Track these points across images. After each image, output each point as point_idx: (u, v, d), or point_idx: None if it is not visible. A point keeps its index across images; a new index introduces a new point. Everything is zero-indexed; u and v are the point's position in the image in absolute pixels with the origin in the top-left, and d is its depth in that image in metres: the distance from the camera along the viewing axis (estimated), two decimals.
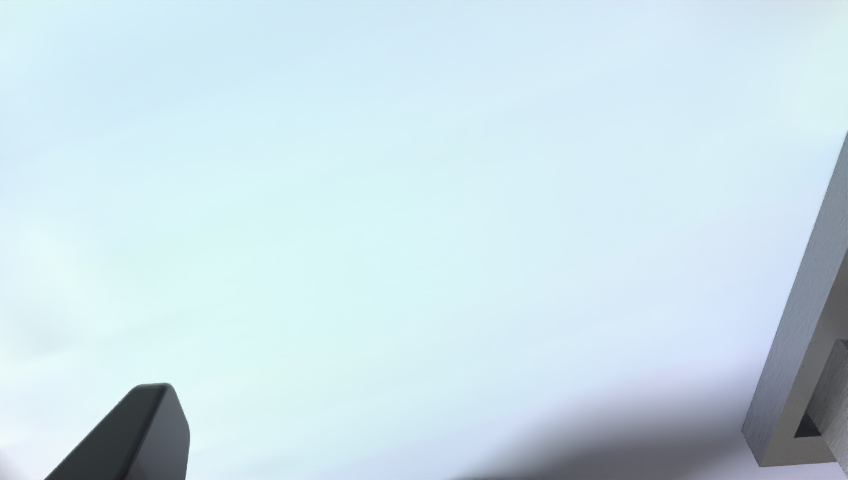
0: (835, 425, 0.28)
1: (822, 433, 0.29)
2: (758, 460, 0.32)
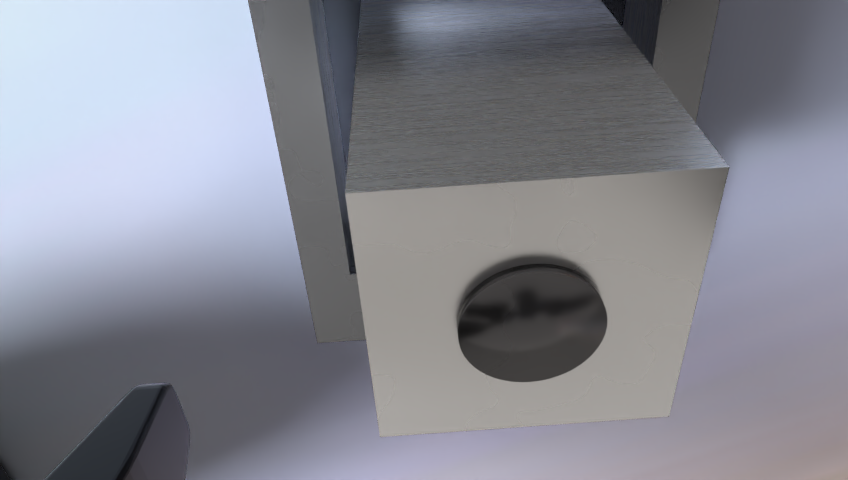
0: None
1: None
2: (317, 331, 0.17)
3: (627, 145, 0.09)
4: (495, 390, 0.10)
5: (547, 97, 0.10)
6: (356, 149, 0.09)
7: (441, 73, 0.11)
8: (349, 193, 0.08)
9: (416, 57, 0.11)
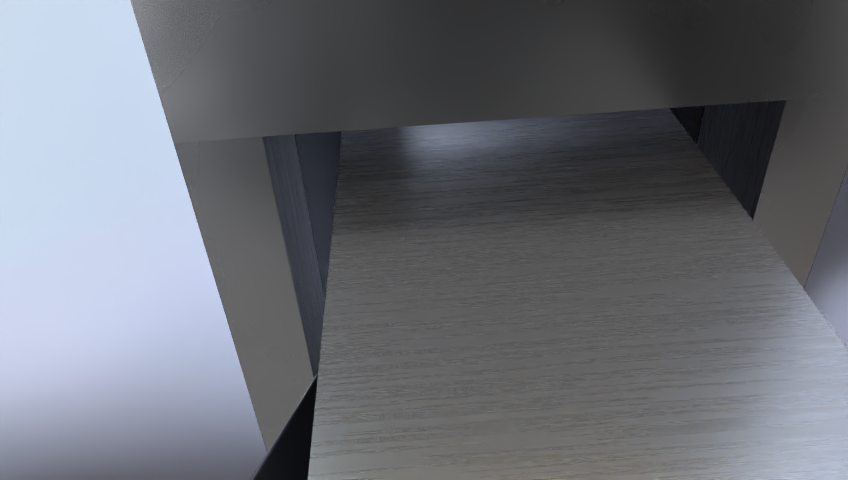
0: None
1: None
2: None
3: (794, 478, 0.05)
4: None
5: (632, 337, 0.06)
6: (322, 467, 0.05)
7: (461, 273, 0.07)
8: None
9: (422, 232, 0.08)
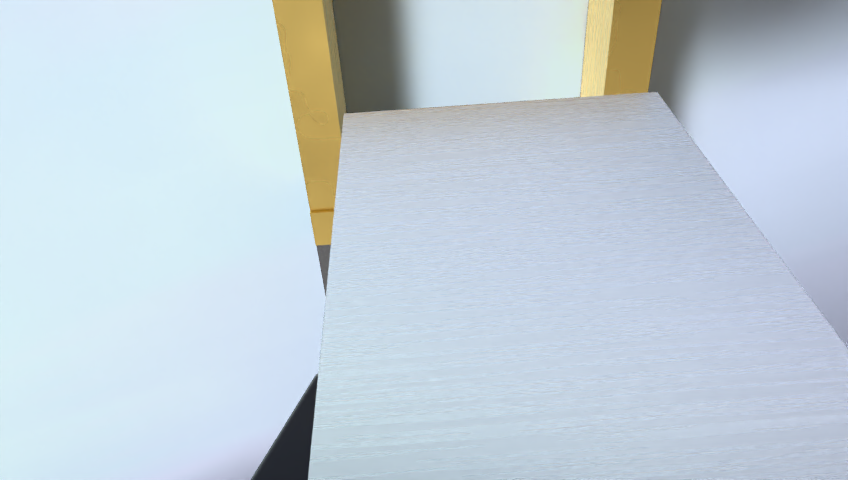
0: None
1: None
2: None
3: None
4: None
5: (633, 340, 0.06)
6: (321, 471, 0.05)
7: (462, 275, 0.07)
8: None
9: (421, 234, 0.08)
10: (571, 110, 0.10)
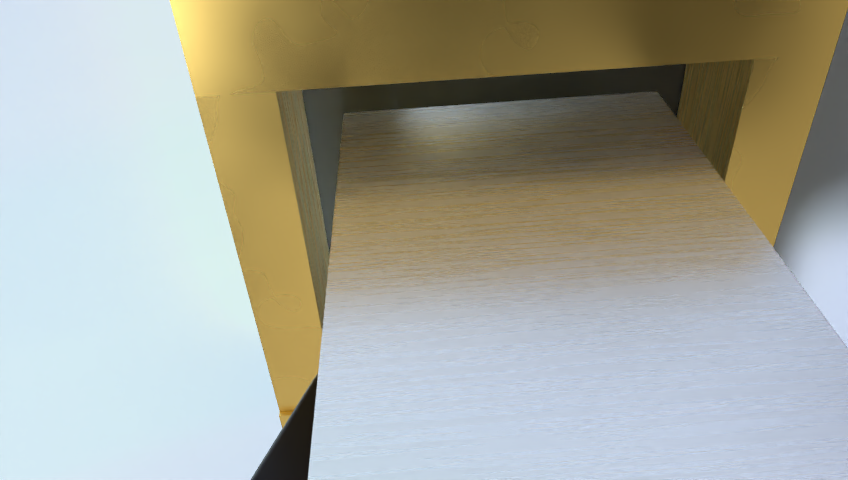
0: None
1: None
2: None
3: None
4: None
5: (633, 339, 0.06)
6: (321, 470, 0.05)
7: (461, 274, 0.07)
8: None
9: (422, 234, 0.08)
10: (571, 110, 0.10)
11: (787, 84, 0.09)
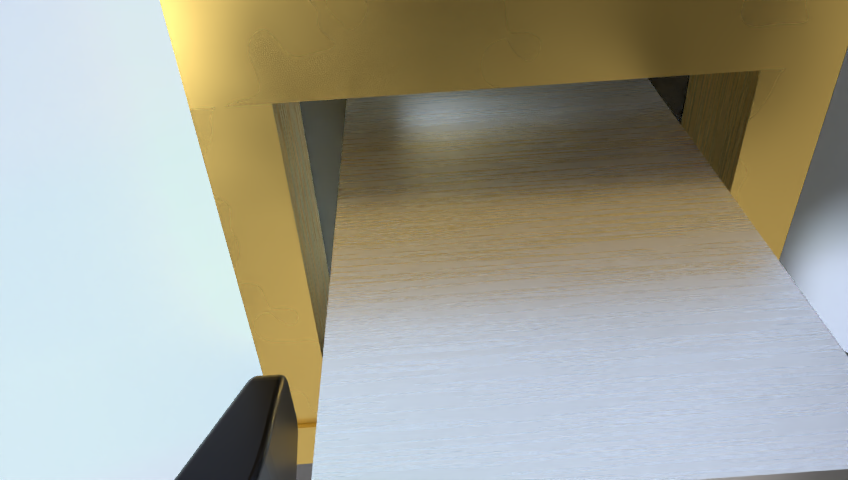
0: None
1: None
2: None
3: (748, 401, 0.06)
4: None
5: (611, 286, 0.07)
6: (330, 394, 0.06)
7: (457, 231, 0.08)
8: None
9: (419, 196, 0.08)
10: (561, 87, 0.10)
11: (794, 95, 0.09)
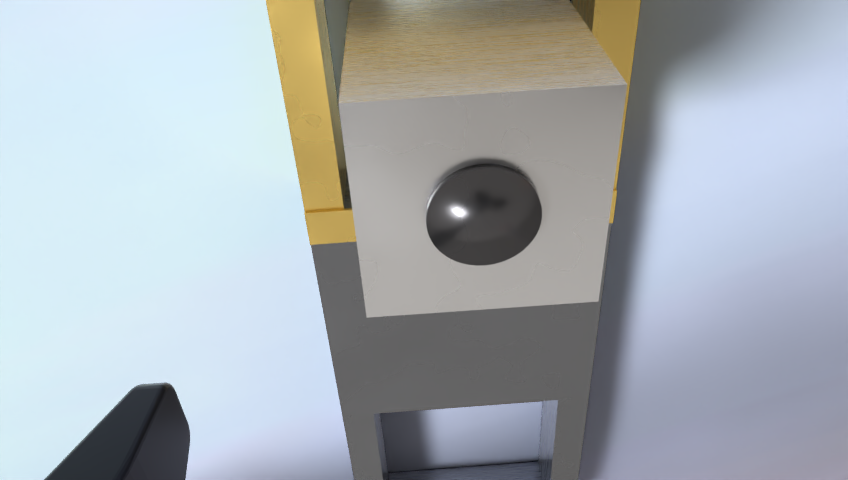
0: None
1: None
2: None
3: (554, 71, 0.11)
4: (458, 276, 0.13)
5: (497, 41, 0.13)
6: (347, 76, 0.12)
7: (416, 26, 0.13)
8: (341, 103, 0.11)
9: (397, 14, 0.14)
10: None
11: None
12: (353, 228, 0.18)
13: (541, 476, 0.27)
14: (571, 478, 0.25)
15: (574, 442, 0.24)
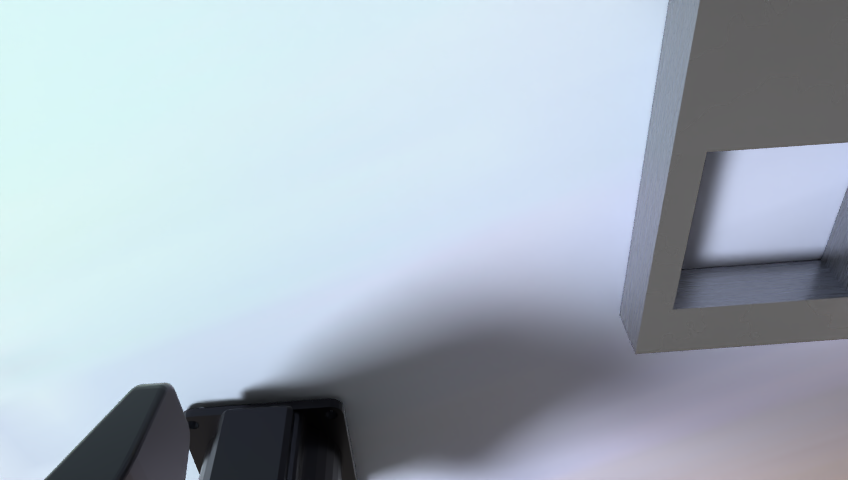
0: None
1: None
2: (633, 345, 0.25)
3: None
4: None
5: None
6: None
7: None
8: None
9: None
10: None
11: None
12: None
13: (831, 271, 0.24)
14: None
15: None
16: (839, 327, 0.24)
